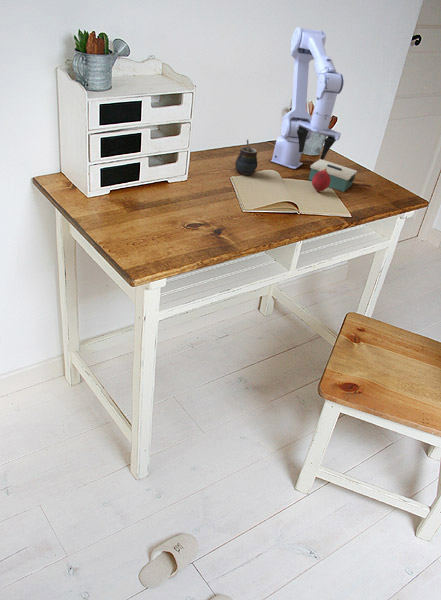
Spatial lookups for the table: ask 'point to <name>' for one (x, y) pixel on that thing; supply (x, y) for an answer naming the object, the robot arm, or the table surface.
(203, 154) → the table surface
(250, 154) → the mate gourd
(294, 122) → the robot arm
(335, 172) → the lunchbox
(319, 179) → the onion
